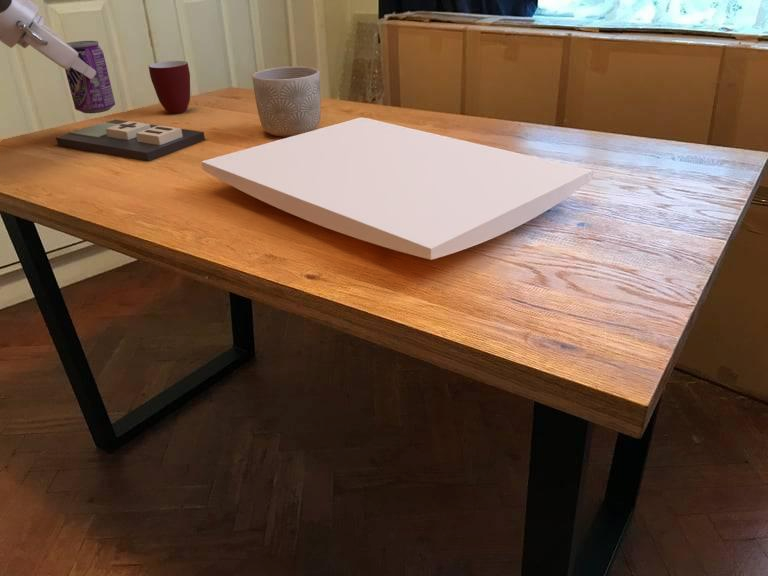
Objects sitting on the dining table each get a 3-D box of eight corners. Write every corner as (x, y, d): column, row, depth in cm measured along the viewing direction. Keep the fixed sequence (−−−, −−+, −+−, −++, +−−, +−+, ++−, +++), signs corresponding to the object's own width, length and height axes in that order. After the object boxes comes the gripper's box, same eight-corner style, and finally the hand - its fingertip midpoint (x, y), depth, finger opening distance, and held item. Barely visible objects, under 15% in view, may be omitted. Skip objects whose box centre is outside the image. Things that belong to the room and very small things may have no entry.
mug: (161, 106, 149) (152, 60, 144) (198, 103, 150) (190, 57, 145) (155, 117, 140) (145, 69, 135) (194, 114, 141) (186, 66, 136)
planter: (272, 122, 133) (266, 66, 128) (331, 123, 131) (327, 66, 126) (249, 139, 123) (241, 79, 117) (313, 141, 120) (307, 80, 115)
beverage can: (70, 110, 125) (53, 44, 119) (108, 104, 129) (92, 39, 123) (83, 117, 120) (66, 47, 114) (122, 109, 124) (106, 42, 118)
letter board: (57, 145, 124) (52, 128, 122) (117, 126, 134) (113, 110, 133) (148, 161, 113) (144, 142, 112) (205, 139, 124) (202, 122, 122)
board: (589, 203, 90) (593, 170, 87) (430, 288, 70) (431, 248, 68) (363, 143, 118) (361, 117, 116) (206, 191, 99) (201, 161, 96)
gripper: (31, 9, 104) (110, 65, 113) (21, 1, 120) (91, 51, 129) (9, 42, 105) (89, 95, 114) (1, 30, 120) (72, 78, 129)
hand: (90, 72), depth 121 cm, fingers closed on beverage can, 6 cm apart
